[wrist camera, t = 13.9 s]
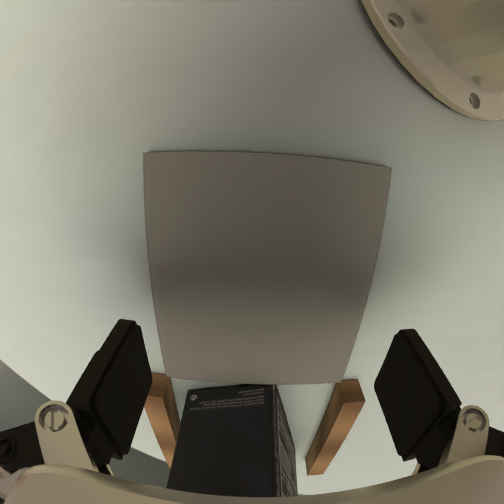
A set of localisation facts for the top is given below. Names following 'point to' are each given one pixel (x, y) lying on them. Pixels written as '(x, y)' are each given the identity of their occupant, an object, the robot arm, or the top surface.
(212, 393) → the small box
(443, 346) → the top surface
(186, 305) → the rubber mat
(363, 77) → the top surface
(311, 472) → the brown open frame
